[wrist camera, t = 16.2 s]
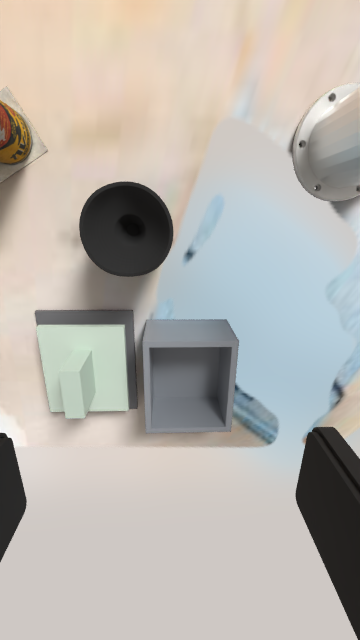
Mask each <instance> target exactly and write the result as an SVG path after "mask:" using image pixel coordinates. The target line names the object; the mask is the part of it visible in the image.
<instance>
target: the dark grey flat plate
mask: <svg viewBox="0 0 360 640" xmlns="http://www.w3.org/2000/svg"><path fill="white" fill-rule="evenodd" d="M35 316H36V322H37V326H38V325H125V336H126V354H127V372H128V389H129V409H137V385H136V363H135V342H134V320H133V310H36V311H35Z"/></svg>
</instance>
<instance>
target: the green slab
mask: <svg viewBox="0 0 360 640" xmlns="http://www.w3.org/2000/svg"><path fill="white" fill-rule="evenodd" d="M36 331H37V336H38V342H39V348H40V354H41V360H42V366H43V372H44V378H45V384H46V390H47V395H48V401H49V407H50V412H65V417H66V419H74V418H85V417H86V415H87V412H88V411H129V389H128V372H127V354H126V336H125V325H38V326H37V327H36Z"/></svg>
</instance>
